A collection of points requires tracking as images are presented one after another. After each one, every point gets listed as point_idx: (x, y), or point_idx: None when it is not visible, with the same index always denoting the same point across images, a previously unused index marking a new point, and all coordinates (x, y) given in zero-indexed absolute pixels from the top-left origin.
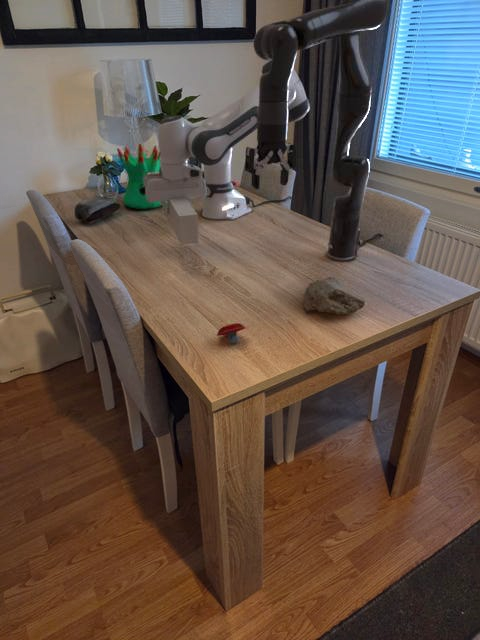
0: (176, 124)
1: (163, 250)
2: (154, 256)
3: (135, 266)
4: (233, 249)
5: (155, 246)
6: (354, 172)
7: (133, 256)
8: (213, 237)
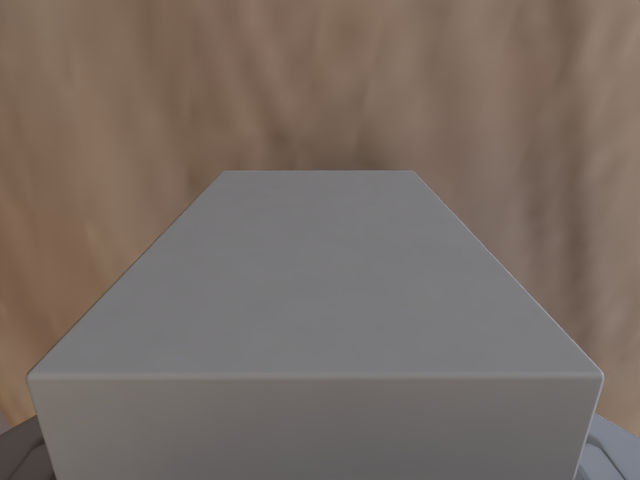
0: None
1: (209, 169)
2: (150, 245)
3: (50, 340)
4: (633, 275)
5: (156, 77)
6: None
7: (18, 210)
8: (625, 18)
